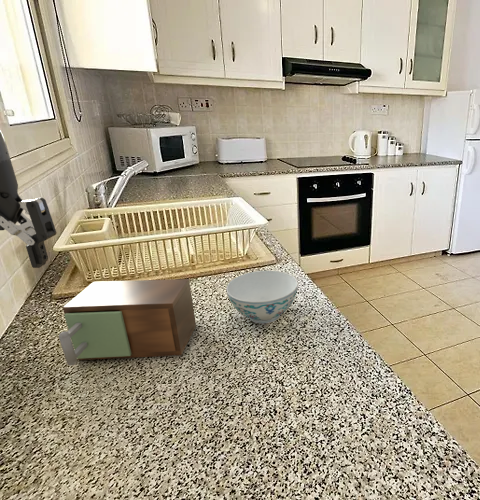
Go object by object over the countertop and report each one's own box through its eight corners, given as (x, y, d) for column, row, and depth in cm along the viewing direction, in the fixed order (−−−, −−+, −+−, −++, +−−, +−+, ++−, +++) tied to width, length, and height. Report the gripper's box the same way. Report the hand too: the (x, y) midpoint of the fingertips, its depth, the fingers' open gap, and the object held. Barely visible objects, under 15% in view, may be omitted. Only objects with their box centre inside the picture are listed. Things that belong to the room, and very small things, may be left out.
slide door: (60, 377, 62) (45, 330, 59) (78, 356, 67) (66, 313, 64) (117, 373, 63) (106, 328, 60) (131, 354, 68) (121, 311, 65)
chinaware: (218, 313, 84) (214, 282, 81) (276, 293, 93) (274, 265, 90) (250, 343, 73) (247, 309, 70) (312, 317, 82) (311, 286, 80)
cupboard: (78, 360, 68) (62, 307, 64) (105, 329, 77) (93, 281, 73) (181, 355, 69) (172, 303, 66) (196, 325, 79) (189, 278, 75)
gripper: (47, 154, 55) (73, 256, 61) (-62, 153, 53) (-24, 258, 59) (11, 162, 48) (44, 276, 54) (-116, 160, 46) (-67, 278, 52)
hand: (8, 266), depth 56 cm, fingers open, 8 cm apart
